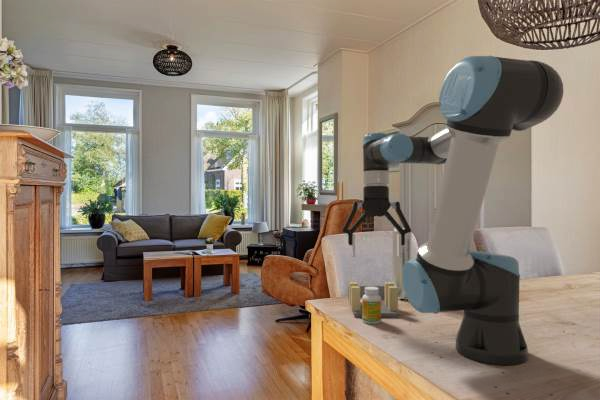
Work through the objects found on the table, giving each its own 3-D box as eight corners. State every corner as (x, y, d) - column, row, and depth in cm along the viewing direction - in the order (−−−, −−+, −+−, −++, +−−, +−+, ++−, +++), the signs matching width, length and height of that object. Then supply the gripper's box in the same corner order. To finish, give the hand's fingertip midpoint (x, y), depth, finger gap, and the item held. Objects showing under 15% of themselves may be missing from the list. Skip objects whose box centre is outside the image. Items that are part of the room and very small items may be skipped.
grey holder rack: (399, 317, 122) (399, 290, 122) (352, 317, 123) (352, 289, 123) (387, 300, 142) (387, 276, 142) (346, 300, 143) (346, 276, 143)
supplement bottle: (367, 325, 115) (367, 290, 115) (359, 319, 121) (359, 286, 120) (384, 323, 117) (384, 289, 117) (376, 318, 122) (376, 285, 122)
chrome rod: (409, 295, 149) (409, 226, 149) (412, 300, 143) (412, 228, 142) (391, 295, 150) (391, 226, 150) (393, 299, 143) (393, 228, 143)
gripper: (415, 185, 126) (415, 254, 126) (334, 186, 127) (334, 254, 128) (421, 184, 119) (421, 258, 119) (334, 185, 120) (335, 257, 120)
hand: (376, 256), depth 123 cm, fingers open, 13 cm apart
